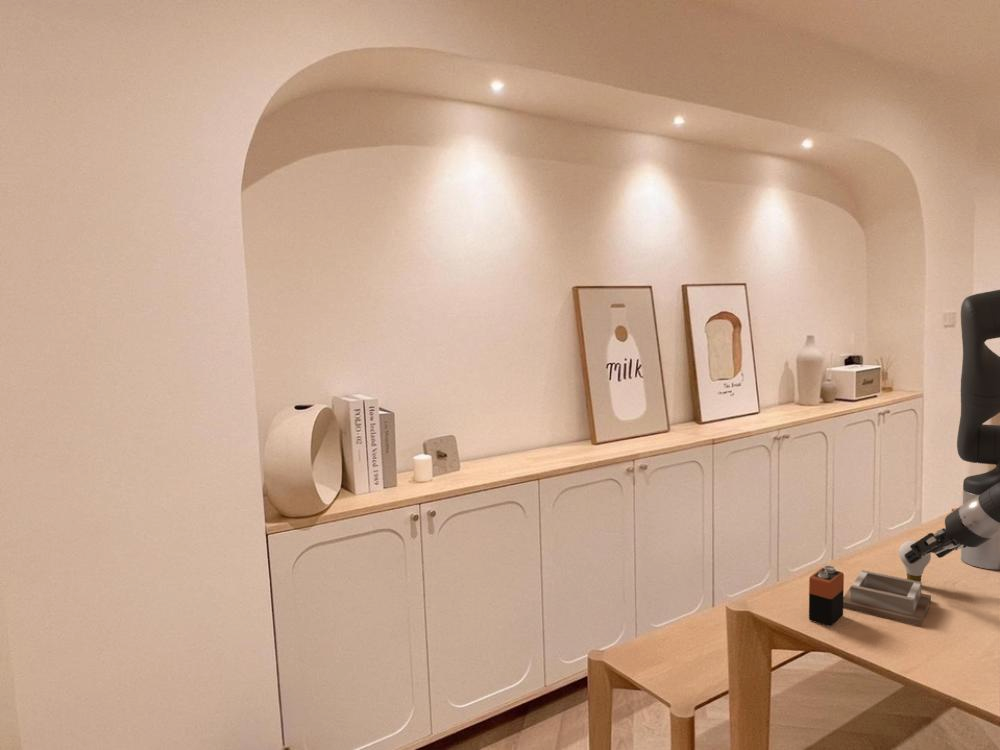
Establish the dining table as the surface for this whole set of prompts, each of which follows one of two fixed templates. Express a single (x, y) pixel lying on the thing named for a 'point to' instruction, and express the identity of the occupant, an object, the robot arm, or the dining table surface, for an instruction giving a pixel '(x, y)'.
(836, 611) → the battery
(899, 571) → the dining table surface
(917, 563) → the light bulb
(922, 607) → the frame
